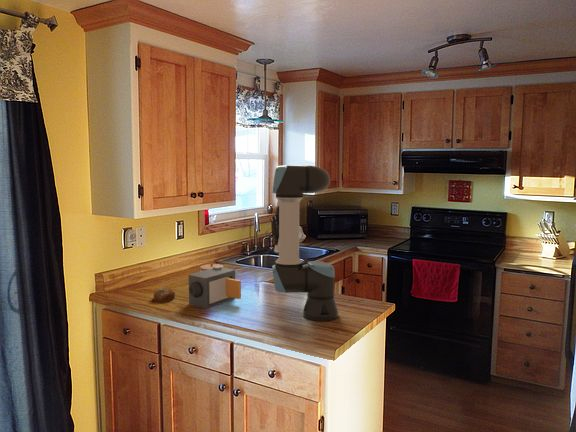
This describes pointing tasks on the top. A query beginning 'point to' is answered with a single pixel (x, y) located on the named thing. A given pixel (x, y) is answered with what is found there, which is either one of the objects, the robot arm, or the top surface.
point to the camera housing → (206, 285)
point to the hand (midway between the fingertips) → (276, 251)
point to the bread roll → (164, 294)
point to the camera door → (224, 289)
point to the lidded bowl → (209, 266)
